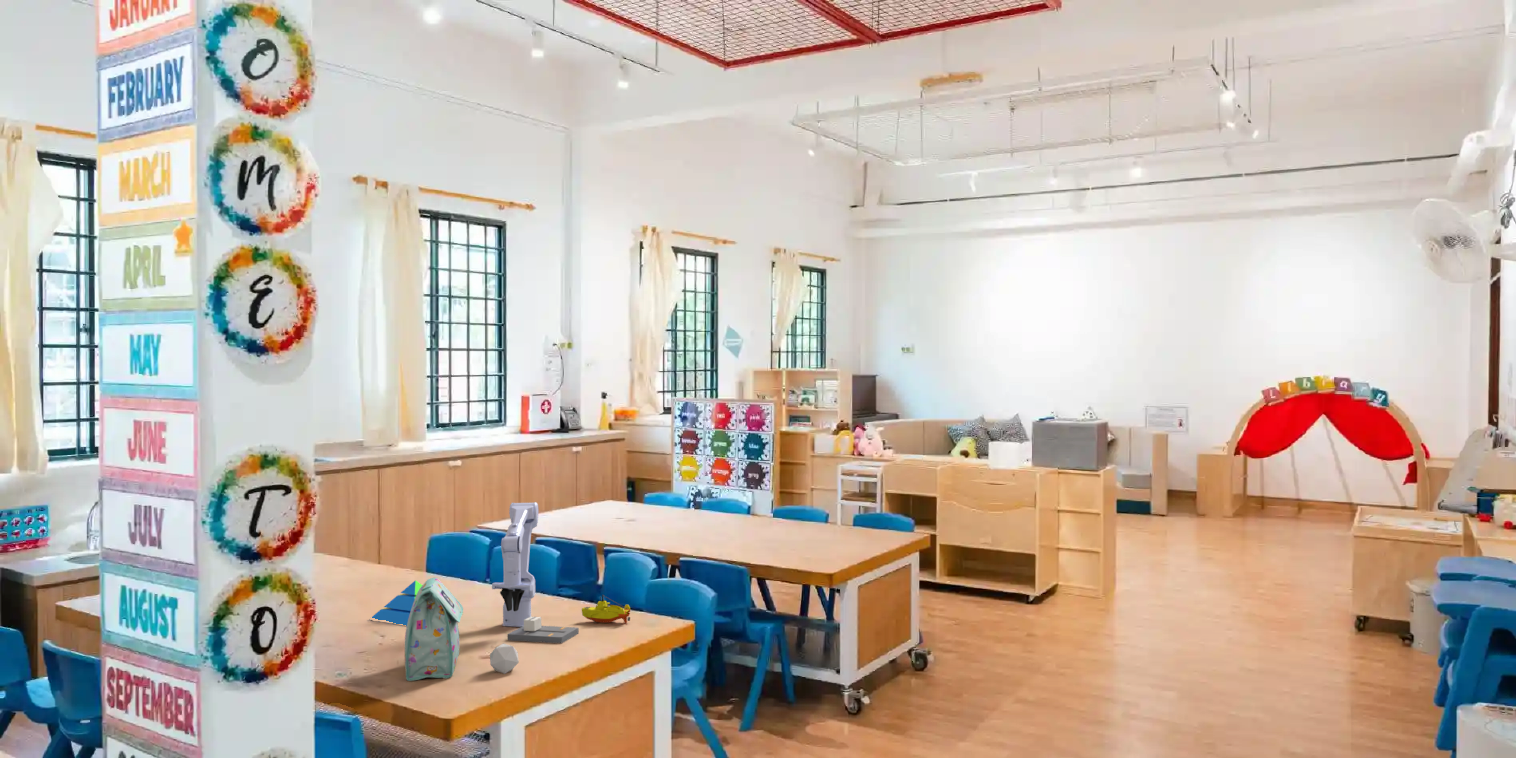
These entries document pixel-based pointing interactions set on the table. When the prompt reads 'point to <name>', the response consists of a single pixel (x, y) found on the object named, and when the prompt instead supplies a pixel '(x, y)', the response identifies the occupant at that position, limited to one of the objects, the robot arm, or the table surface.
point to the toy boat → (606, 612)
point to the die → (504, 658)
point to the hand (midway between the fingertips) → (512, 610)
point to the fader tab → (532, 623)
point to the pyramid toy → (400, 606)
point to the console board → (544, 634)
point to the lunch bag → (432, 633)
